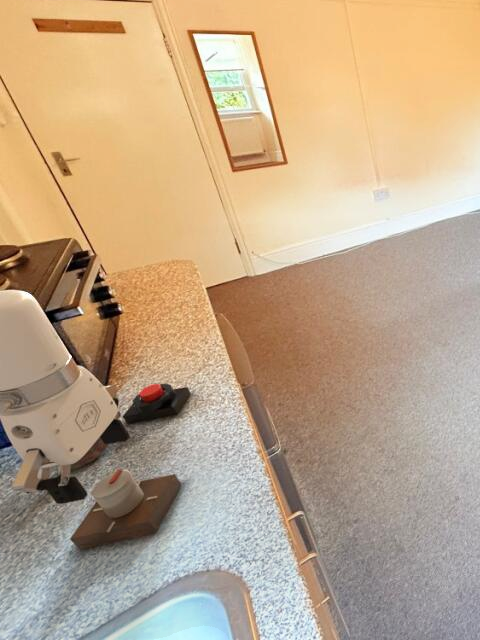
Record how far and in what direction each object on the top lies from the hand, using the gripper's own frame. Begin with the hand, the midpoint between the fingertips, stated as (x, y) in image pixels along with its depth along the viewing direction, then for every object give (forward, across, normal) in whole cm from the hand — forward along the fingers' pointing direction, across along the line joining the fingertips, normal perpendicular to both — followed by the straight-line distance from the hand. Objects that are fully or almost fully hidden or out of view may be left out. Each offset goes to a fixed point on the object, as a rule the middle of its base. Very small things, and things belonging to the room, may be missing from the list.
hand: (97, 468), depth 59 cm
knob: (+9, 0, -1) cm, 9 cm away
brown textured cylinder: (+12, +16, +15) cm, 25 cm away
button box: (+12, +25, +7) cm, 28 cm away
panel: (+12, 0, -1) cm, 12 cm away
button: (+8, +25, +7) cm, 27 cm away
